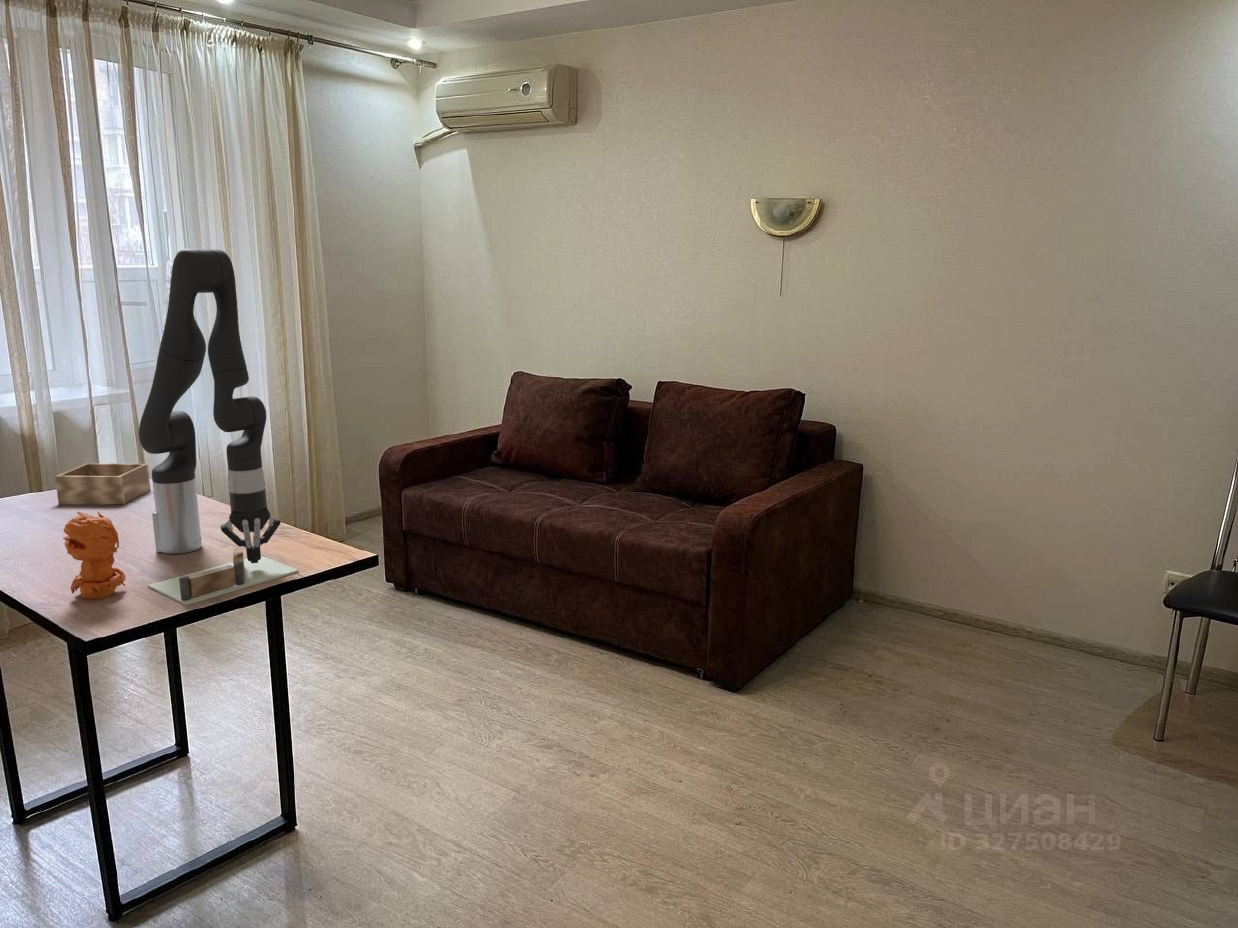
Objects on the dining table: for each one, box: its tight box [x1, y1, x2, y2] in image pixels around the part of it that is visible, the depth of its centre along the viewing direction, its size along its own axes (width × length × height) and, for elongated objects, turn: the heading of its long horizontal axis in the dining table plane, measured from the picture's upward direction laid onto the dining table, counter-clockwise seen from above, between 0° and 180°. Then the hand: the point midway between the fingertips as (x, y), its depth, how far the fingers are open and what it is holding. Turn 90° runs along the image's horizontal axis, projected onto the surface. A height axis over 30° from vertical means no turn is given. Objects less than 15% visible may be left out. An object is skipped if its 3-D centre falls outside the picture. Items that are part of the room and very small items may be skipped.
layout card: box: [147, 555, 300, 606], centre depth 203 cm, size 26×16×1 cm, turn 142°
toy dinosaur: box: [62, 511, 126, 600], centre depth 192 cm, size 11×11×18 cm
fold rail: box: [232, 547, 245, 579], centre depth 205 cm, size 10×2×4 cm, turn 22°
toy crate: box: [54, 462, 152, 505], centre depth 266 cm, size 18×16×8 cm
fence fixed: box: [179, 561, 244, 601], centre depth 194 cm, size 14×2×5 cm, turn 142°
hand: (254, 562), depth 208 cm, fingers closed
